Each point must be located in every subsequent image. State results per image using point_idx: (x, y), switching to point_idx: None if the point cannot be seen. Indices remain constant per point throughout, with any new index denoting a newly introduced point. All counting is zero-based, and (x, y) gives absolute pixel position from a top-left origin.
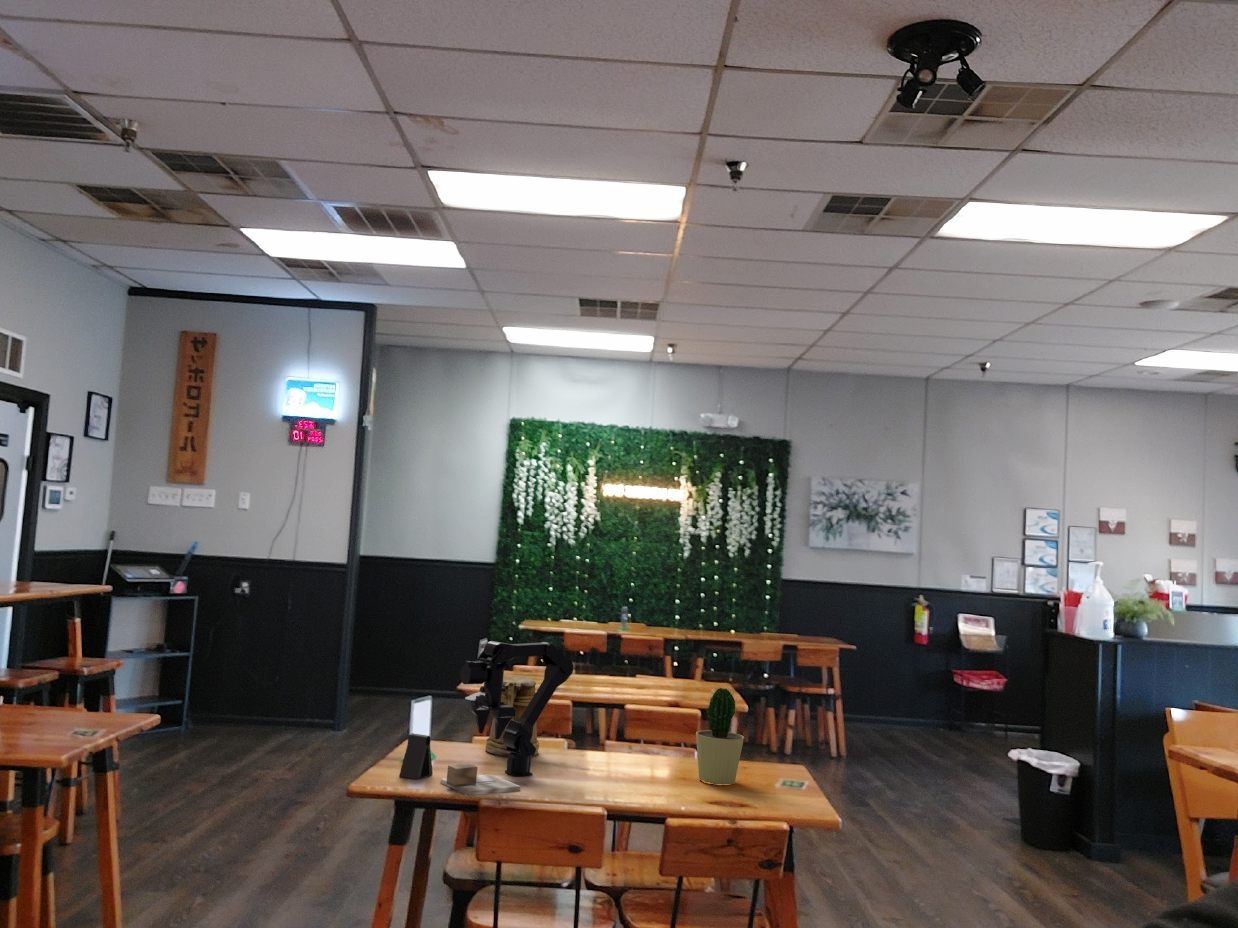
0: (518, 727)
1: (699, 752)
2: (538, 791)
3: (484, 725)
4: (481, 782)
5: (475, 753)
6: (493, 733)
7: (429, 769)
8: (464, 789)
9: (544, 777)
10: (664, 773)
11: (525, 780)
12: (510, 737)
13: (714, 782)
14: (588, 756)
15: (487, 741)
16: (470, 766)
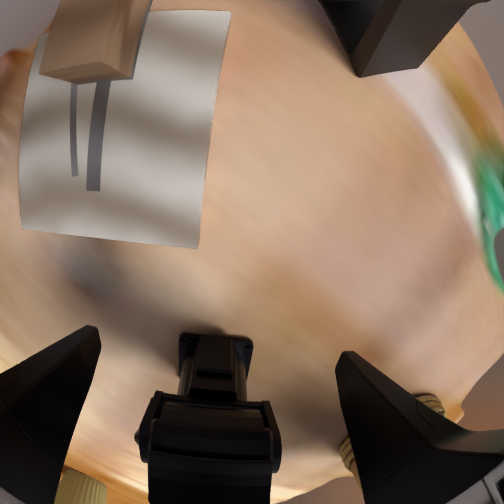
0: (162, 490)
1: (77, 501)
2: (16, 264)
3: (349, 422)
4: (94, 123)
5: (441, 371)
6: None
7: (357, 47)
8: None
9: (148, 383)
10: (135, 485)
11: (127, 324)
12: (195, 437)
13: (68, 471)
14: (277, 487)
15: (439, 409)
16: (59, 45)
